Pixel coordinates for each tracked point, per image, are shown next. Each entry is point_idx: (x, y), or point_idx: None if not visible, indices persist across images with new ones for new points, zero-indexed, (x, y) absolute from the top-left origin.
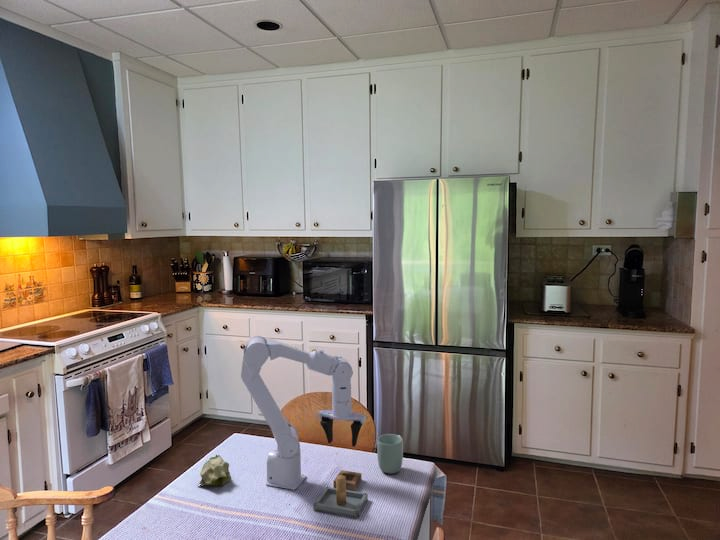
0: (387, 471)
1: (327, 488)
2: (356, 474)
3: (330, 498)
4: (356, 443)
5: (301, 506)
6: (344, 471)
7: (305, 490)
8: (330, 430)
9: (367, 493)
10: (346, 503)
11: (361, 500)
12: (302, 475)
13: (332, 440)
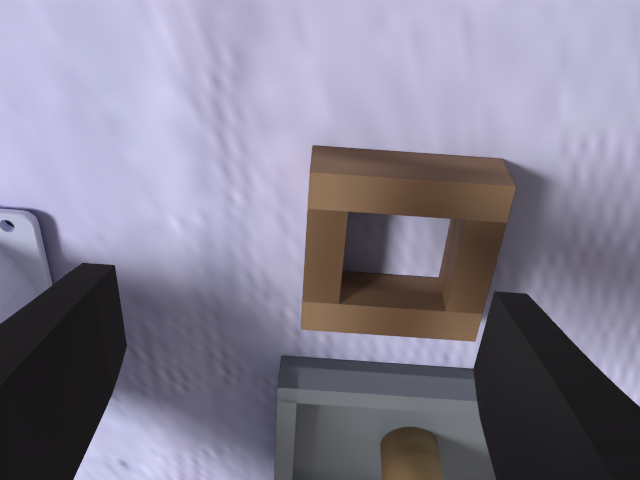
0: None
1: (290, 401)
2: (471, 214)
3: (332, 423)
4: (532, 302)
5: (195, 470)
6: (348, 188)
7: (133, 352)
8: (30, 468)
9: None
10: (441, 446)
11: None
12: (1, 221)
13: (113, 268)
